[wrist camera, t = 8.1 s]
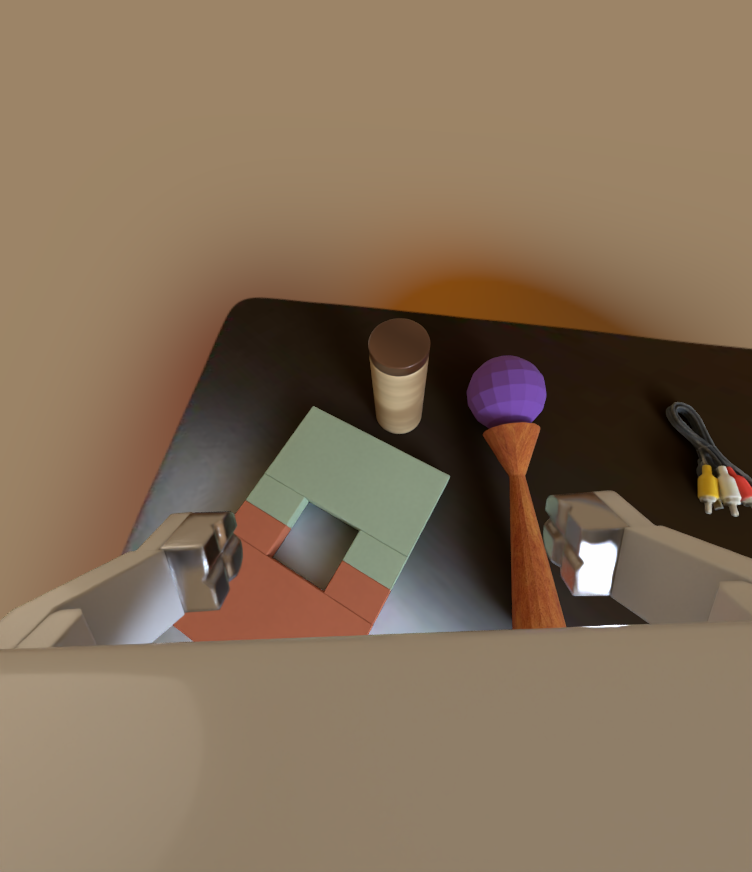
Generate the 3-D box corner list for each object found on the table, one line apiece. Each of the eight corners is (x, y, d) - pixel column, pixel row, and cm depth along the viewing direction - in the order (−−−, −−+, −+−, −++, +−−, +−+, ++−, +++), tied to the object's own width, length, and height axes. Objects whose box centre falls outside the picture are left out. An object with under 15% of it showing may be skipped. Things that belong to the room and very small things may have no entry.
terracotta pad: (319, 728, 24) (314, 735, 23) (172, 615, 27) (160, 616, 26) (391, 590, 27) (390, 590, 26) (251, 504, 31) (245, 499, 29)
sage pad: (391, 590, 27) (390, 590, 26) (251, 504, 31) (245, 499, 29) (448, 481, 31) (450, 475, 29) (316, 413, 34) (313, 405, 32)
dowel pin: (408, 442, 32) (412, 378, 23) (367, 421, 33) (356, 352, 24) (429, 405, 33) (441, 331, 24) (390, 387, 34) (387, 309, 25)
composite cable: (657, 406, 32) (677, 391, 30) (716, 407, 32) (740, 392, 30) (690, 521, 28) (716, 514, 26) (758, 523, 28) (790, 517, 26)
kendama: (494, 637, 22) (463, 347, 29) (489, 623, 28) (464, 382, 35) (604, 639, 21) (545, 335, 28) (577, 624, 27) (533, 373, 33)
